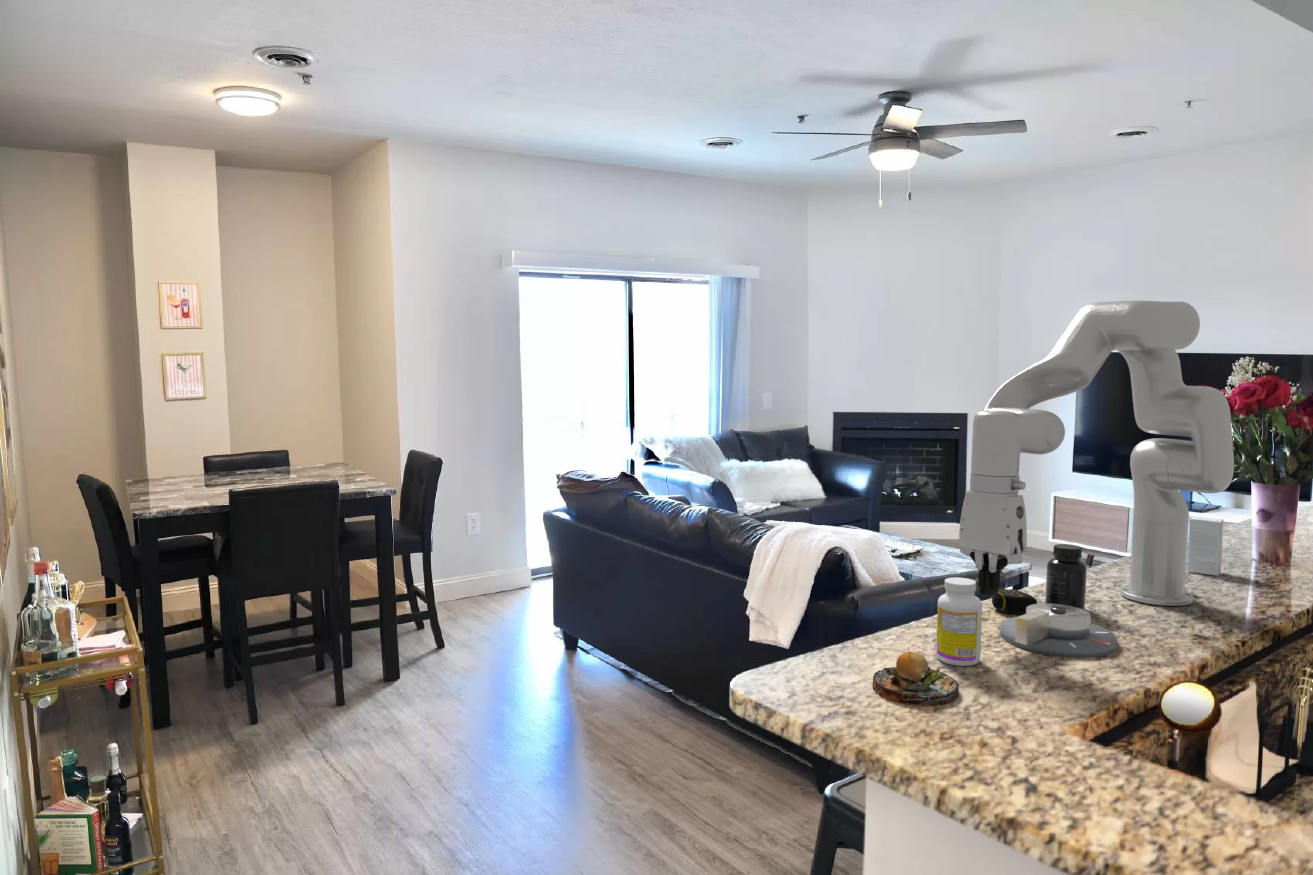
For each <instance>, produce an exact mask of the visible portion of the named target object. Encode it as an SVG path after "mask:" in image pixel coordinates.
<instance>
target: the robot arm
mask: <svg viewBox="0 0 1313 875" xmlns="http://www.w3.org/2000/svg"><path fill="white" fill-rule="evenodd" d="M1200 320H1201V319H1200V315H1199V313H1198V311H1197V310H1196V308H1194V307H1193V305H1191V304H1190V303H1188V302H1185V301H1162V300H1161V301H1156V300H1119V301H1114V300H1113V301H1099V302H1092V303H1088V304H1087V305H1084V306H1083V307H1081V308H1080V309H1079V310H1078V311H1077V312H1076V314H1075V315H1074V317H1073V318H1072V319H1071V321H1070V322H1069V324H1067V327H1065V329H1064V330H1063V332H1062V334H1061V335H1060V336H1059V338H1058V340H1057V341H1056V342H1055V344H1054V345H1053V346H1052V348H1051V349H1050V351H1049V353H1048V354H1047V355H1046V356H1045V357H1044V358H1043V359H1041V360H1039V361H1038V362H1036V363H1034V364H1032V365H1030V366H1028V367H1027V368H1026V369H1024V370H1023V371H1020V372H1019V373H1018V374H1016V375H1014V376H1013V377H1011V378H1010V379H1008V380H1006V381H1005V382H1004V383H1003V384H1002V385H1001V386H1000V387H999V388H998V389H997V390H996V391H995V392H994V393H993V395H992V397H990V399H989V401H988V402H987V404H985V406H984V408H983V410H981V411H977V412H976V413H975V414H974V417H973V419H972V435H971V438H972V440H971V458H970V460H971V461H970V477H969V478H970V480H969V481H970V482H969V490H966V492H965V494H964V495H965V496H964V499H963V503H962V508H961V513H960V514H961V515H960V521H959V531H958V534H959V537H958V540H959V544H960V548H959V552H960V553H961V554H963V555H964V556H967V557H969V558H971V560H972V561H973V563H974V564H975V567H976V570H978V580H977V581H978V582H977V584H978V586H977V587H978V588H979V589H978V593H979V594H981V595H985V596H992V595H993V594H996V593H997V592H998V590H999V589H1000V587H1001V586H1000V585H1001V584H1000V583H1001V571H1004V569H1005V568H1006V567H1007V566H1008V565H1019V564H1022V563H1023V555H1022V553H1025V552H1026V550H1027V545H1028V544H1027V542H1028V533H1027V532H1028V530H1027V526H1028V524H1027V512H1026V507H1025V506H1026V505H1025V500H1024V496H1023V495H1022V494H1019V493H1020V490H1022V491H1024V490H1025V489H1026V487H1027V486H1026V482H1025V481H1022V480H1020V479H1021V477H1020V463H1021V462H1020V461H1021V454H1029V455H1046V454H1050V453H1053V452H1054V451H1056V450H1057V449H1058V448H1059V447H1060V446H1061V444H1062V443H1063V441H1064V439H1065V437H1066V436H1065V435H1066V428H1065V425H1064V422H1063V420H1062V419H1061V418H1060V417H1059V416H1058V415H1057V414H1055V413H1053V412H1051V411H1049V410H1044V409H1033V408H1032V407H1034V406H1036V405H1039V404H1041V403H1044V402H1047V401H1049V400H1053V399H1056V398H1057V399H1058V398H1061V397H1063V396H1064V397H1065V396H1067V395H1070V394H1074V393H1077V392H1079V391H1081V390H1083V389H1085V388H1087V387H1088V386H1089V385H1090V384H1091V383H1092V381H1093V380H1094V378H1095V377H1096V375H1097V374H1098V372H1099V370H1100V369H1101V367H1102V366H1103V365H1104V363H1105V361H1106V360H1107V358H1108V357H1109V356H1110V354H1111V353H1112V352H1113V351H1117V352H1119V353H1120V354H1121V355H1122V357H1123V358H1124V359H1125V361H1126V363H1127V366H1128V369H1129V374H1130V383H1131V391H1132V392H1131V393H1132V395H1131V396H1132V404H1133V406H1132V407H1133V413H1134V414H1133V415H1134V419H1135V423H1136V425H1137V427H1138V428H1139V429H1140V430H1142V431H1143V432H1145V433H1149V434H1155V435H1164V436H1177V437H1187V438H1188V437H1189V438H1191V439H1192V440H1186V439H1176V438H1159V437H1158V438H1154V437H1153V438H1149V439H1148V438H1147V439H1145V440H1142V441H1139V443H1137V444H1136V445H1135V446H1134V447H1133V449H1132V451H1131V453H1130V458H1129V459H1130V461H1129V466H1130V472H1131V480H1132V486H1133V488H1132V489H1133V514H1132V530H1131V531H1132V532H1131V533H1132V535H1131V550H1130V551H1131V552H1130V553H1131V554H1130V569H1129V573H1130V574H1129V584H1126V585H1125V584H1124V585H1123V586H1121V588H1120V595H1121V597H1124V598H1126V599H1129V600H1131V601H1135V602H1138V603H1143V604H1148V605H1153V606H1154V605H1156V606H1164V607H1166V606H1167V607H1181V606H1182V607H1183V606H1188V605H1191V604H1192V603H1194V595H1193V594H1192V593H1190V592H1188V591H1186V590H1185V588H1186V586H1185V585H1186V582H1187V581H1188V575H1187V574H1186V571H1187V570H1186V568H1187V556H1188V554H1187V553H1188V552H1187V550H1188V539H1189V524H1190V513H1189V508H1188V504H1187V502H1186V501H1185V498H1184V497H1183V495H1182V493H1181V491H1187V492H1193V493H1194V492H1195V493H1201V494H1202V493H1203V494H1218V493H1222V492H1224V491H1225V490H1227V488H1229V486H1230V484H1231V483H1232V480H1233V476H1234V471H1235V470H1234V469H1235V459H1234V445H1233V443H1234V441H1233V429H1232V415H1231V410H1230V409H1231V408H1230V405H1229V402H1228V400H1227V398H1226V396H1225V394H1224V393H1222V391H1220V390H1219V389H1217V388H1214V387H1213V386H1212V387H1211V386H1202V385H1187V384H1185V383H1184V381H1183V376H1182V375H1183V374H1182V367H1181V361H1180V357H1179V354H1178V352H1177V350H1183V349H1185V348H1187V347H1189V346H1191V345H1192V344H1193V342H1195V340H1196V338H1198V334H1199V332H1200V329H1201V328H1200V327H1201V321H1200Z"/></svg>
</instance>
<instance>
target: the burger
mask: <svg viewBox="0 0 1313 875" xmlns="http://www.w3.org/2000/svg"><path fill="white" fill-rule="evenodd" d="M907 647H908V648H907V650H908V651H906V652H903V653H902V654H900V655H899V656H898V658H897V659H896V663H895V667H894V666H893V667H891V666H890V667H883V668H882V669H881V670H878V671H876V672H874V674H873V676H872V686H873V687H872V690H875V691H877V692H879V695H880V697H881V696H882V697H883V698H884V699H887V700H889V699H891V700H893V702H894V703H899V704H902V705H908V706H916V707H917V706H918V707H938V706H945V705H947V704H948V705H949V704H951V703H954V702H955V701H956V700H957V699H958V698H959V691H960V690H959V686H960V685H959V683H958V681H957V680H956V679H954V678H953V677H952V676H950V675H949V674H946V673H944V672H941V671H940V668H937V669H936V670H935V669H931V667H930V666H929V662H928V660H927V659H926V657H925V656H923V655H922V654H920V653H918V652H915V651H910V649H909V648H910V647H909V646H907ZM882 697H881V698H882ZM907 703H908V704H907Z"/></svg>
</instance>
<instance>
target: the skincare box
mask: <svg viewBox="0 0 1313 875" xmlns="http://www.w3.org/2000/svg"><path fill="white" fill-rule="evenodd" d="M1223 529H1224V519H1223V518H1212V517H1204V516H1203V517H1202V516H1192V517H1191V518H1189V527H1188V548H1187V550H1188V552H1187V553H1188V554H1187V573H1193V574H1194V573H1195V574H1201V575H1209V576H1215V577H1216V576H1218V577H1219V576H1220V574H1221V572H1222V555H1223V553H1222V551H1223V537H1224V536H1223V535H1224V534H1223V533H1224V530H1223Z"/></svg>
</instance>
